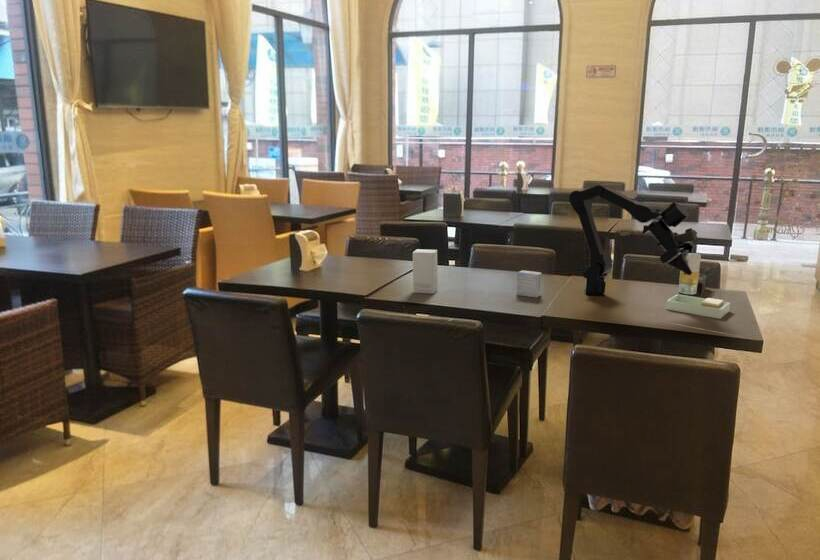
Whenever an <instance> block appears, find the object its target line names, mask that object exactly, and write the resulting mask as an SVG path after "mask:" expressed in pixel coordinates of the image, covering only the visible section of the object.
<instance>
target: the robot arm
mask: <svg viewBox="0 0 820 560" xmlns="http://www.w3.org/2000/svg"><path fill="white" fill-rule="evenodd" d="M599 197H600V198H602V199H603V200H605V201H608V203H609V202H610V203H612V204H613V205H615V206H617V207H620V208H621V209H623V210H625V211H626V212H628V213H629V214H630V215H631V217H632V218H634V219H635V220H636V221H637V222H639V223H642V224H643V223H648V224H645V225H643V226H642V227H643V229H642V234H647V233H650V234H651V235H652V236H653V237H654V239H655V240H656V241H657V242H658V243H656V244H657V246H658V247H661V248H662V249H663V250H664V252H663V253H662V254H661V255H660V256H659V260H660V262H661V263H662V265H665V264H667V265H668V266H672V267H673V268H676V269H678V270H679V271H683V272H685V273H687V274H689V275H690V274H692V271H691V269H690V268H689V266H688V264H687V263H686V261H685V260H684V253H694V250H695V247H696V244H695V243H694V242H693V241H695V240H698V239H699V238H698V236H697V235H698V231H696V230H695V229H693V228H692V227H690V228H687V229H685V231H684V232H683V233H681V234H678V232H676V231H674V232H673V230H672V229H671V228H670V227H673V228H676V227H677V226H679V225H680V224H681V223H683V222H684V221H686V219H688V218H689V217H690V214H689V212H688V210H687V209H686V208H685V207H683V206H682V204H679V203H678V201H674V202H672V203H671V204H670V205H669V206H668V207H667V208H665V209H664V210H662V209H659V208H657V207H656V206H655V205H652V204H650V203H646V202H643V201H638V200H635V199H632V198H631V197H629V196H626V195H624V194H622V193H620V192H619V191H617V190H615V189H613V188H611V187H608V186H607V185H606V184H597V185H595V186H593V187H590V188H587V189H580V190H579V189H578V190H573V191H572V192H570V194H569V196H568V201H569V203H570V206H571V207H572V209H573V210H574V212H575V214H577V216H578V219H579V221H580V224H581V227H582V231H583V235H584V237H585V241H586V244H587V248H588V250H589V258H588V263H589V267H588V268H587V269H586V270H585V271H583V279H585V286H584V291H583V292H584V294H585V295H587V296H602V295H603V296H604V295H605V292H606V284H607V283H606V281H605V277H607V274H608V273H609V272H611V271H612V268H613V263H614V260H613V259H612V254H611V252H610V251H607V252H606V250H604V248H603V246H602V243H601V239H600V236H599V233H598V228H597V226H596V223H595V220H594V219H595V218H594V216H593V213H592V211H593V210H592V207H593V200H595V199H597V198H599ZM659 218H660V219H659ZM656 219H658V220H656ZM649 222H650V223H649ZM668 261H669V262H668Z"/></svg>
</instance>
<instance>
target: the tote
mask: <svg viewBox="0 0 820 560" xmlns="http://www.w3.org/2000/svg"><path fill="white" fill-rule="evenodd" d="M705 299H706V298H703V297H701V298H698V297H692V296H686V295H680V294H679V293H677V294H675V295H673V296H671V297H670V298H669V299H667V300H666V305H665V306H666V307H665V310H670V311H674V312H680V313H686V314H691V315H692V314H693V315H697V316H701V317H702V316H703V317H709V318H714V319H720V320H721V319H722V318H724V317H725V316H726V315H727V314H728V313H730V306H731V302H727V301H724V304H723V307H722V308H721V309H717V308H711V307H705V306H701V304H702V301H704V300H705Z"/></svg>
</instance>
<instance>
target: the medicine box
mask: <svg viewBox="0 0 820 560" xmlns="http://www.w3.org/2000/svg"><path fill="white" fill-rule="evenodd" d="M542 275H543V273H542V272H540V271H532V270H520V271H518V272H517V281H516V296H523V297H529V298H537V299H538V297H540V296H541V293H542Z"/></svg>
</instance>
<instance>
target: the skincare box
mask: <svg viewBox="0 0 820 560" xmlns="http://www.w3.org/2000/svg"><path fill="white" fill-rule="evenodd" d="M438 273H439V272H438V249H427V248H426V249H420V248H417V249H415V250H414V251H413V252H412V291H413V293H415V294H430V295H434V294H435V293H436V292H437V291H438V290H439V289H438V288H439V287H438Z"/></svg>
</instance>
